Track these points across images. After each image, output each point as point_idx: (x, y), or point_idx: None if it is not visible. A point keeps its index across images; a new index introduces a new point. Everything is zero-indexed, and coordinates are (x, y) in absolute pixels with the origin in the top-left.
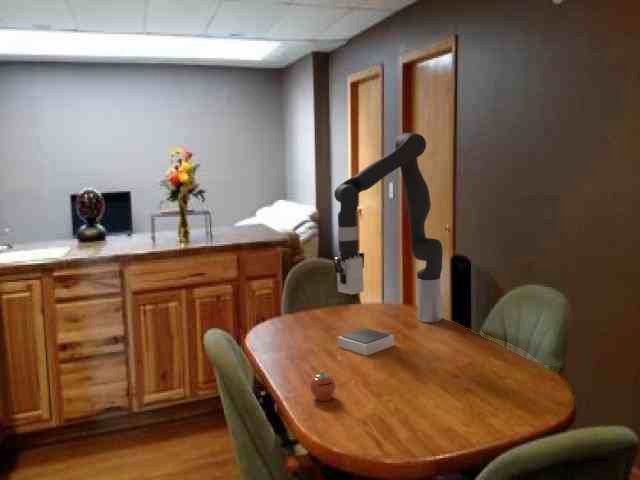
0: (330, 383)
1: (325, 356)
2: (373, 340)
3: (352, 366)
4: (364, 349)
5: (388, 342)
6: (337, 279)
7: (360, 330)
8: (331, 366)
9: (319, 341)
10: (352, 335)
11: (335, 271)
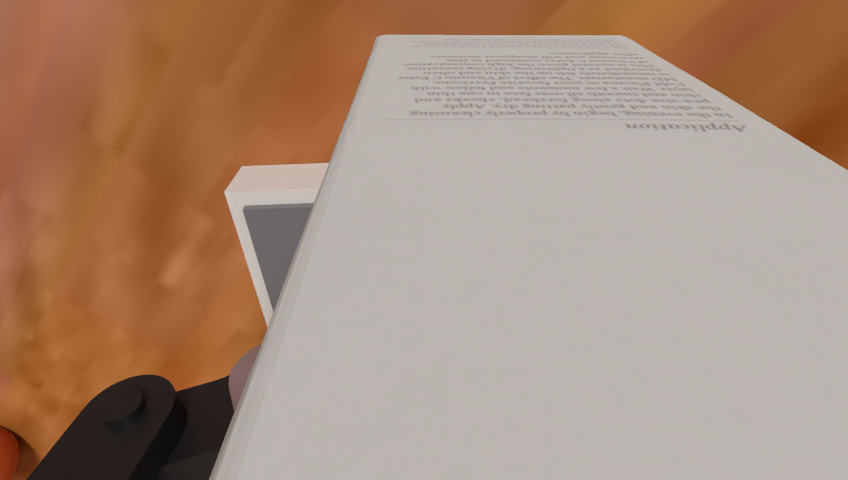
0: (5, 458)
1: (122, 222)
2: None
3: (179, 351)
4: None
5: None
6: (355, 97)
7: None
8: (104, 310)
9: (188, 11)
10: (294, 246)
11: (81, 427)
